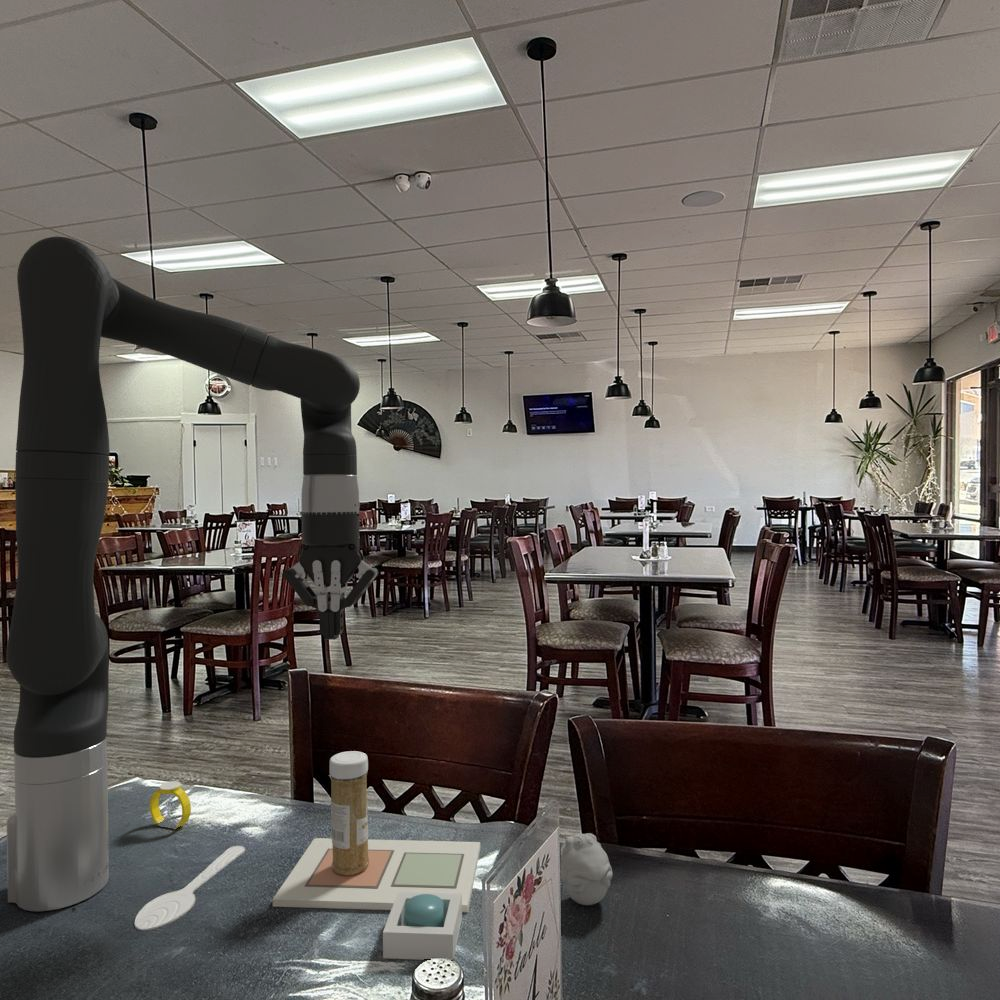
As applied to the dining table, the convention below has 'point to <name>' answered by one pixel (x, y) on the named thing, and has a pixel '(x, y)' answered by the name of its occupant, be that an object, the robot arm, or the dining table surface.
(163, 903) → the spoon
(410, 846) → the picture board
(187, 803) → the watch
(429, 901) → the button
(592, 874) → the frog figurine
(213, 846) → the dining table surface
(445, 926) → the button housing
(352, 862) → the sprinkles bottle
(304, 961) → the dining table surface
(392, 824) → the dining table surface
